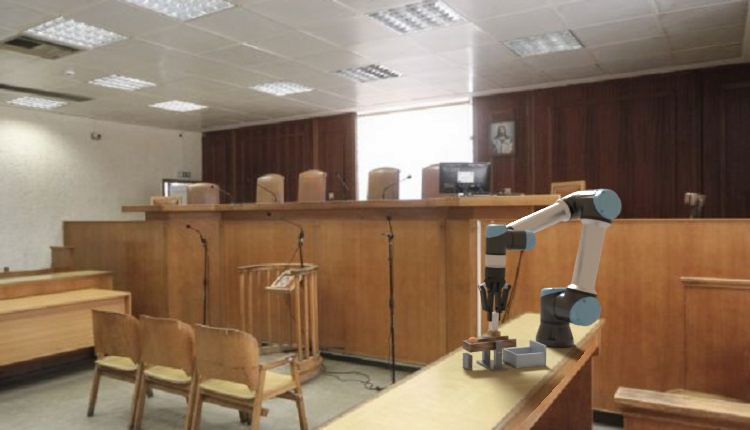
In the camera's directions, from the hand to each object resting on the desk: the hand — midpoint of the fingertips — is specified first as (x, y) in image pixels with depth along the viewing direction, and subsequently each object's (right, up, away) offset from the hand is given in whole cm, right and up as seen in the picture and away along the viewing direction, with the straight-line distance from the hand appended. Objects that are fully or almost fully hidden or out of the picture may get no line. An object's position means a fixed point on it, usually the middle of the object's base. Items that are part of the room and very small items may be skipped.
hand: (493, 330), depth 198 cm
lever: (-5, -4, -7) cm, 9 cm away
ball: (-9, -3, -12) cm, 16 cm away
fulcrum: (-6, -10, -11) cm, 17 cm away
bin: (+10, -11, -6) cm, 15 cm away
